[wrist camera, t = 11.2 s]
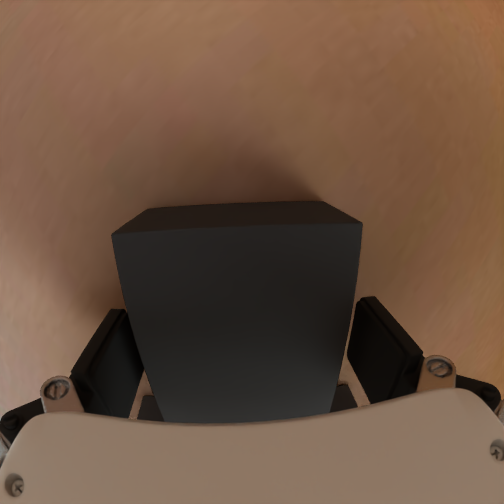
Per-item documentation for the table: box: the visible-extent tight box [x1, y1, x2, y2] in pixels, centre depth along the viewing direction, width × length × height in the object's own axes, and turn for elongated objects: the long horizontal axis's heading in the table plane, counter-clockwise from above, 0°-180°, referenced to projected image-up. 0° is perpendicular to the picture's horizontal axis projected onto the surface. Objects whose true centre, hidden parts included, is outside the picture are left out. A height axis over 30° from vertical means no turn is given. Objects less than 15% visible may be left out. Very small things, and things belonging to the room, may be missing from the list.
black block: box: [111, 201, 363, 423], centre depth 11 cm, size 7×13×4 cm, turn 1°
